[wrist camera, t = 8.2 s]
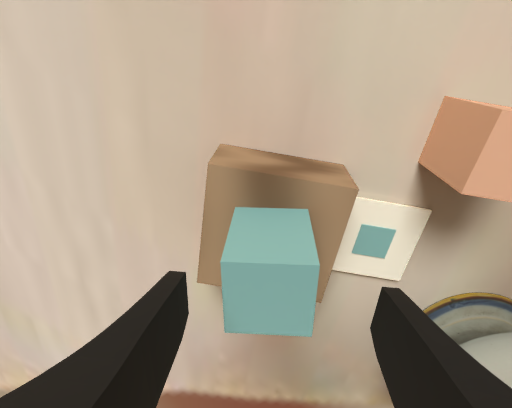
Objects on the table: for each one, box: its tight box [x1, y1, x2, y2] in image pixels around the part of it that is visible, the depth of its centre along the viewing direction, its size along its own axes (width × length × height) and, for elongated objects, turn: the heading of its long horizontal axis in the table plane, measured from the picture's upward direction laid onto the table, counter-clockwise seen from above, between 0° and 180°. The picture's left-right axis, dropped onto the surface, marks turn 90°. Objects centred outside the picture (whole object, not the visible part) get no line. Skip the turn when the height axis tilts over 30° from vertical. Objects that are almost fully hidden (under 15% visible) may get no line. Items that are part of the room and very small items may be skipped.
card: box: [332, 197, 432, 281], centre depth 22 cm, size 6×6×1 cm
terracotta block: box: [418, 96, 512, 202], centre depth 16 cm, size 4×4×5 cm
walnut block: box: [197, 144, 359, 303], centre depth 19 cm, size 8×8×4 cm
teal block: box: [220, 207, 320, 337], centre depth 15 cm, size 4×4×5 cm
